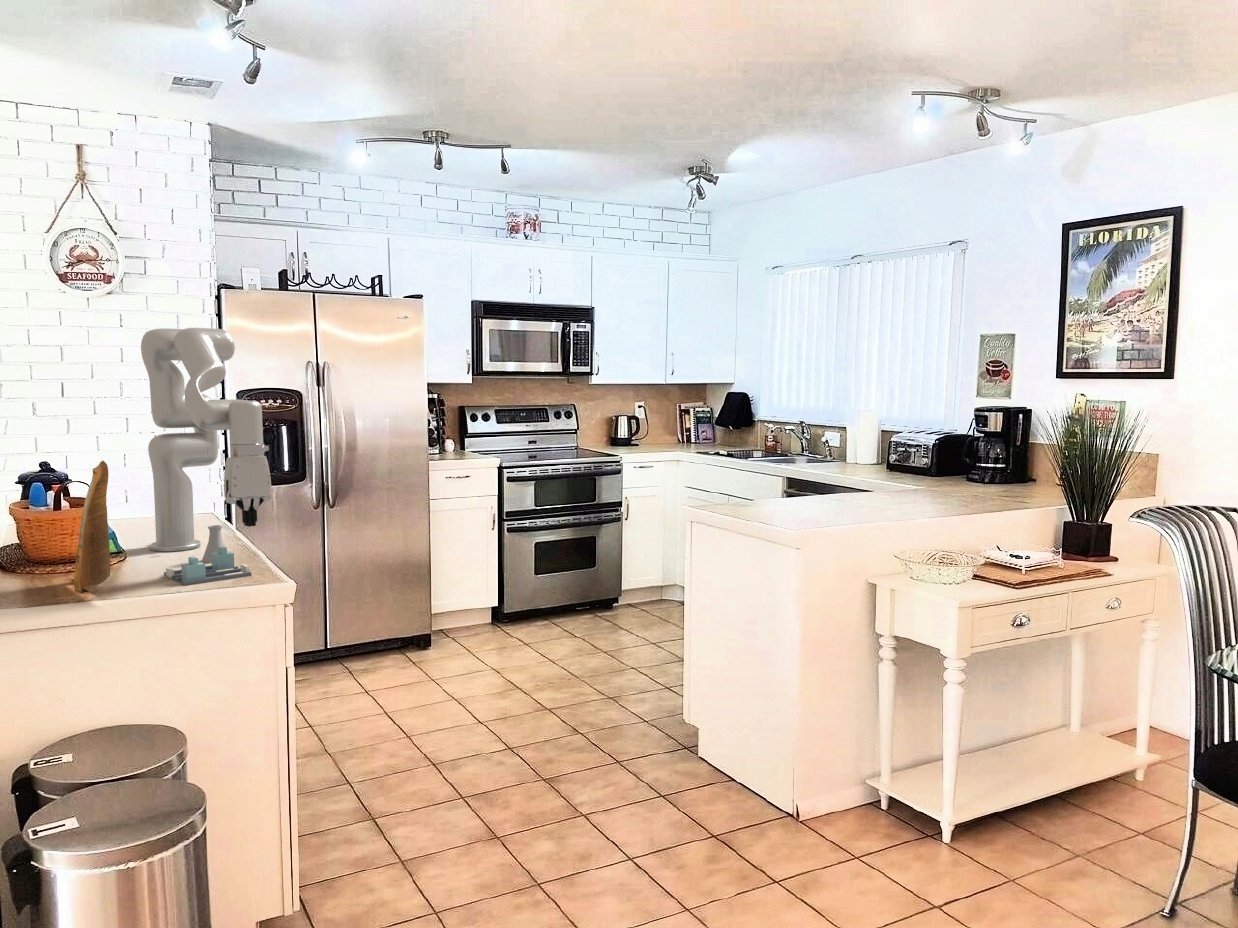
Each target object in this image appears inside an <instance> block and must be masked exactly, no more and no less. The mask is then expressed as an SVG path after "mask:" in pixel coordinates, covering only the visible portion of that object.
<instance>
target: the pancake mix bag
mask: <svg viewBox="0 0 1238 928" xmlns="http://www.w3.org/2000/svg"><path fill="white" fill-rule="evenodd" d="M108 484H109V468H108V464H107V463H106V461H104V460H101V461H100V462H99V464H98V465H97V466H95V467H94V468H92V476H91V481H90V483H89V487H88V491H87V492H86V495H85V499H84V500H85V501H84V503H83V507H82V508H83V509H82V513H81V514H82V515H81V519H80V527H79V534H78V544H77V550H76V557H75V568H74V575H73V586H74V592H75V591H79V592H78V593H80V594H83V593H84V592H87V593H90V591H89V590H87V589H86V588H88V587H89V588H90V587H93V586H96V585H97V586H98V585H100V584H102V583H103V582H104V581H106V580H107V579H108V578H109V577H110V575H111V556H110V554H111V553H110V550H111V549H110V532H109V530H110V529H109V523H108V506H107V492H108Z"/></svg>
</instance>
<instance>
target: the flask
mask: <svg viewBox="0 0 1238 928" xmlns="http://www.w3.org/2000/svg"><path fill="white" fill-rule="evenodd" d="M222 528H224V527H223V525H221V524H220V525H219V524H213V525H209V526H207V530H209V536H208V542H207V544H206V548H205V551H204V553H203V556H202V559H201V561H200V562H202V563H205V564H206V563H207V564H212V558H211V553H218V547H220V546H224V547H227V546H226V544H225V541H224V537H223V535H222Z"/></svg>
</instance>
